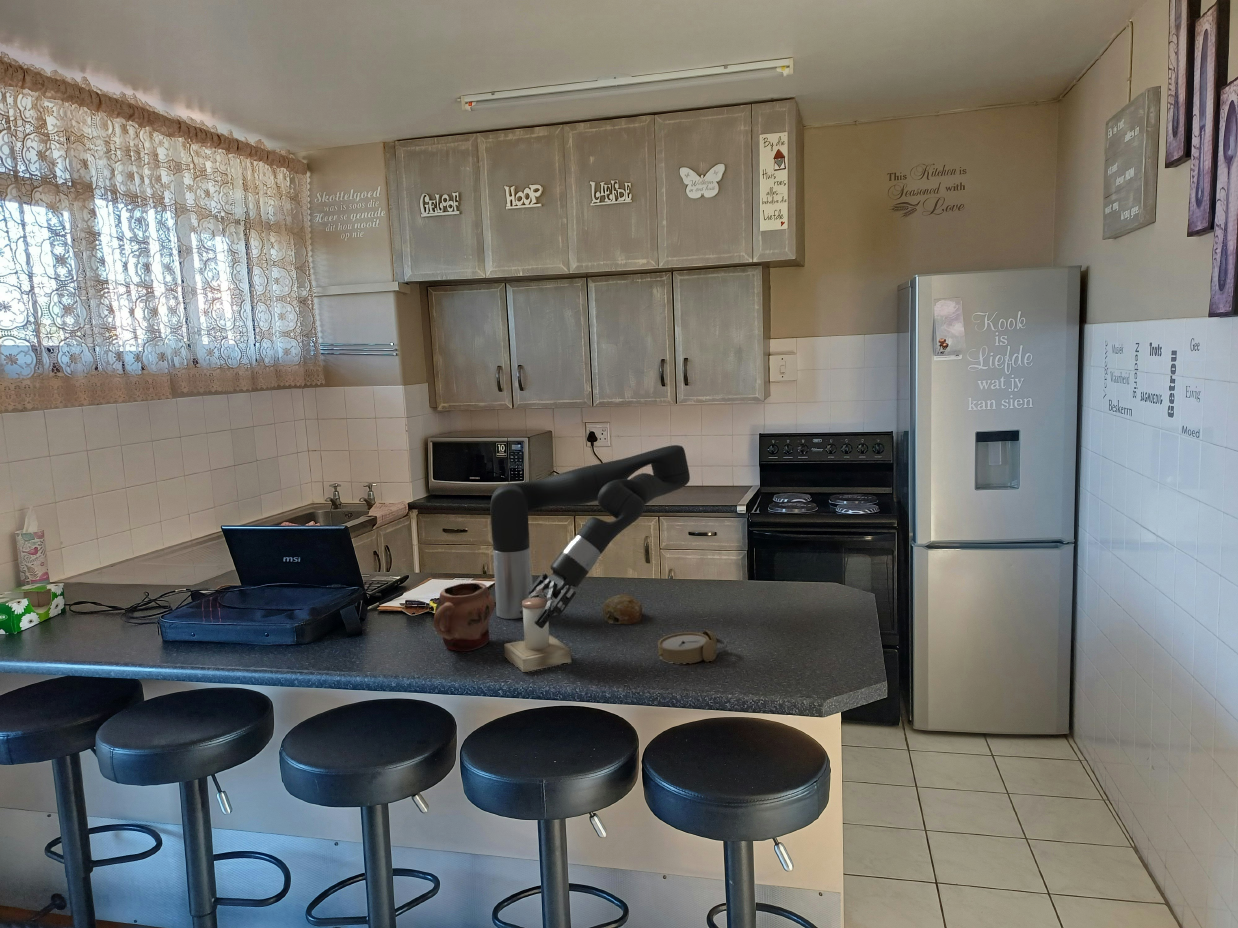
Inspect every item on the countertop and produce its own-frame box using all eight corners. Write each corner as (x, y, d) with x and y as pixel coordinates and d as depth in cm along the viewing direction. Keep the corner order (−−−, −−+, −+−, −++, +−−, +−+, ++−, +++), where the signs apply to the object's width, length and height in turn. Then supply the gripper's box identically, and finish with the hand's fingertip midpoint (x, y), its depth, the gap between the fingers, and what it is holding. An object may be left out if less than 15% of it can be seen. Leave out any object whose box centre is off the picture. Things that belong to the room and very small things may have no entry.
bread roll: (600, 634, 208) (593, 610, 204) (613, 606, 216) (607, 582, 212) (637, 638, 205) (631, 614, 201) (649, 609, 213) (644, 585, 209)
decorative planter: (466, 665, 181) (462, 603, 179) (417, 660, 185) (412, 599, 183) (508, 635, 199) (505, 578, 197) (462, 630, 203) (459, 575, 201)
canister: (532, 639, 186) (530, 596, 185) (554, 642, 184) (552, 598, 182) (519, 648, 181) (517, 603, 180) (541, 651, 179) (539, 606, 177)
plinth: (550, 647, 190) (550, 634, 190) (571, 662, 180) (570, 648, 180) (505, 657, 185) (504, 643, 184) (523, 673, 175) (522, 658, 175)
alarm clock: (657, 634, 188) (723, 622, 187) (662, 655, 189) (727, 643, 187) (654, 652, 177) (724, 640, 176) (659, 674, 178) (729, 662, 176)
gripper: (601, 578, 180) (555, 639, 176) (573, 563, 192) (529, 621, 189) (578, 557, 177) (530, 619, 173) (551, 544, 189) (506, 602, 185)
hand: (530, 620), depth 181 cm, fingers open, 8 cm apart
